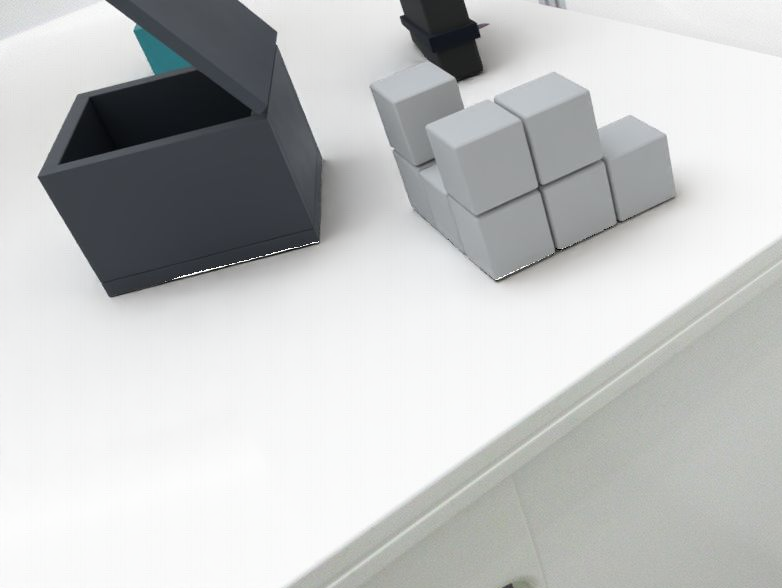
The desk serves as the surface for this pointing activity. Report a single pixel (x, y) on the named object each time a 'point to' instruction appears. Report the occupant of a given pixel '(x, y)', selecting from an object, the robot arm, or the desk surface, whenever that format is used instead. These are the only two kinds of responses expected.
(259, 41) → the compartment lid
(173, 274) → the compartment
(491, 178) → the puzzle cube
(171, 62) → the teal cube
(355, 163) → the desk surface
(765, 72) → the desk surface
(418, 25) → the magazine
